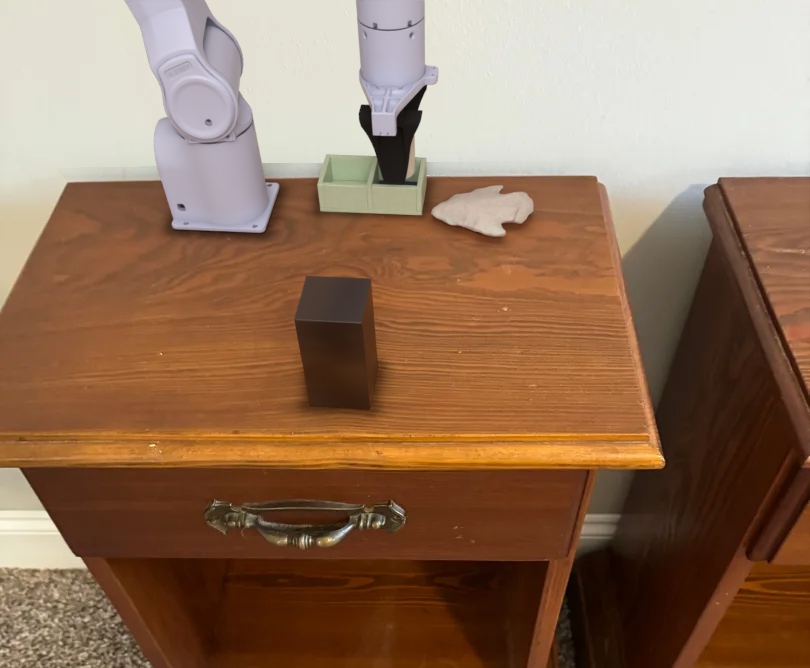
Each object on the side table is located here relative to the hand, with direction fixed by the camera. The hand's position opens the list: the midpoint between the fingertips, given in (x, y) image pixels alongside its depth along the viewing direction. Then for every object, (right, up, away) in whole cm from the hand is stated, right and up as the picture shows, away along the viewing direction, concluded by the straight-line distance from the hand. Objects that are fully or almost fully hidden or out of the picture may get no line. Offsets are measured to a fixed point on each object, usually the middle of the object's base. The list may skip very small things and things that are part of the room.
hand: (397, 169), depth 76 cm
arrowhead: (+8, -5, 0) cm, 10 cm away
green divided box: (-2, -2, +3) cm, 4 cm away
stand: (-4, -24, -12) cm, 27 cm away
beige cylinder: (0, 0, 0) cm, 0 cm away
